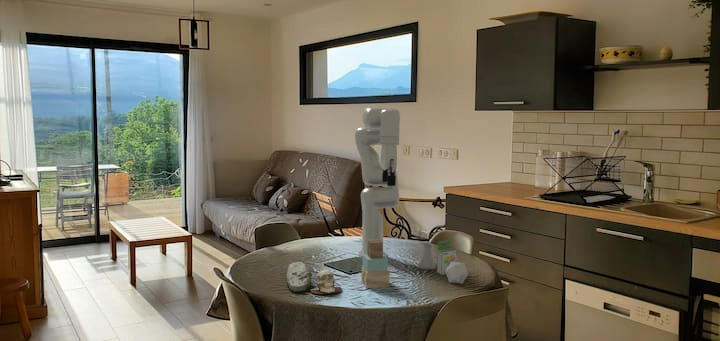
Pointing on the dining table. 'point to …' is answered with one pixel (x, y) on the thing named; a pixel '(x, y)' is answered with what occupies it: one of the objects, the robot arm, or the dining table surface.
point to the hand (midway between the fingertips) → (388, 183)
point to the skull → (326, 283)
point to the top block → (375, 264)
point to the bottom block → (375, 279)
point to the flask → (427, 258)
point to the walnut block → (375, 248)
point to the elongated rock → (298, 277)
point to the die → (456, 272)
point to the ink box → (445, 256)
